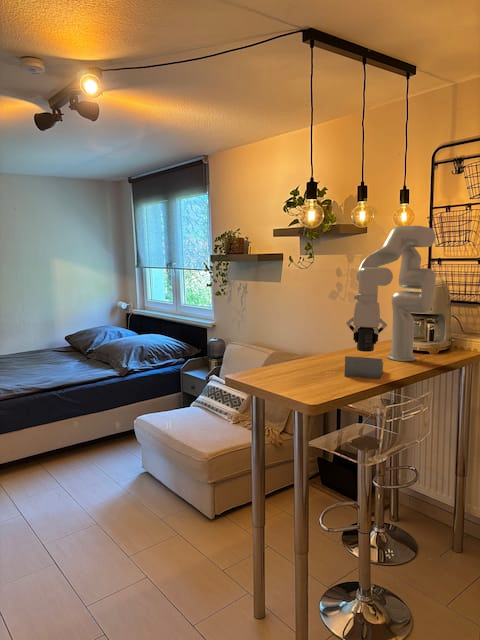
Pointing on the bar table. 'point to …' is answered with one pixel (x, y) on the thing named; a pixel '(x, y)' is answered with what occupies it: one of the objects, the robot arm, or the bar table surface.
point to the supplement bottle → (365, 339)
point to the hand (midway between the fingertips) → (365, 342)
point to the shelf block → (363, 367)
